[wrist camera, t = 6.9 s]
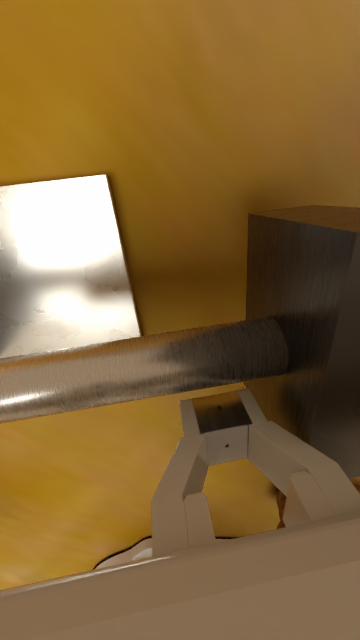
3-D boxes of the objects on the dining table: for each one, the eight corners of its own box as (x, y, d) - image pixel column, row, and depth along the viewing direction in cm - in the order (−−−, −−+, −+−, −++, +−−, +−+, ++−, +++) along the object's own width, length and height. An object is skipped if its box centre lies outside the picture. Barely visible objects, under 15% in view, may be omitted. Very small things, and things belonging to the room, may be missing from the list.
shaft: (312, 205, 9) (484, 214, 4) (289, 375, 12) (368, 474, 8) (-325, 286, 7) (-1008, 420, 3) (-137, 449, 11) (-321, 614, 7)
